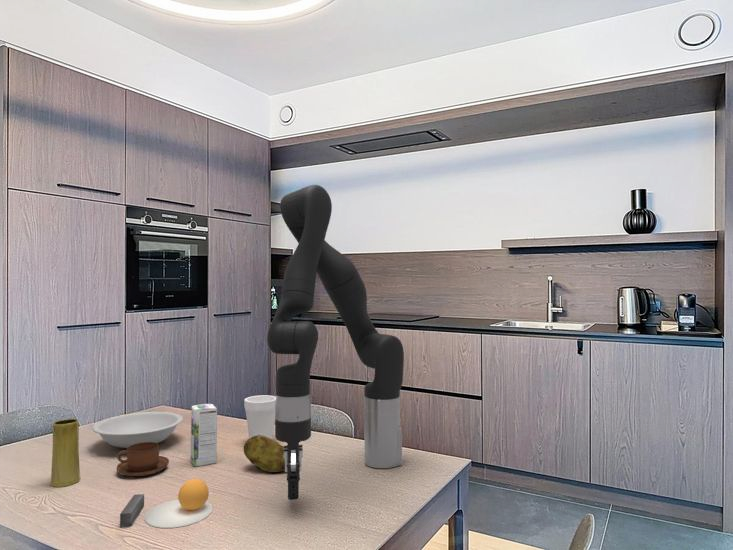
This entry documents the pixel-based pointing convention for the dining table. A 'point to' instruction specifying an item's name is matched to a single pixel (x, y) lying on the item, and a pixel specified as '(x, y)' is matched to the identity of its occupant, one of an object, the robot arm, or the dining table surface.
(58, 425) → the vase
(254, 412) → the foam cup
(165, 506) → the white flat disc
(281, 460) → the potato
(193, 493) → the ball
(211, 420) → the syrup box
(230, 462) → the dining table surface
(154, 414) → the soup bowl
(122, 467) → the cup and saucer
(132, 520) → the strip
